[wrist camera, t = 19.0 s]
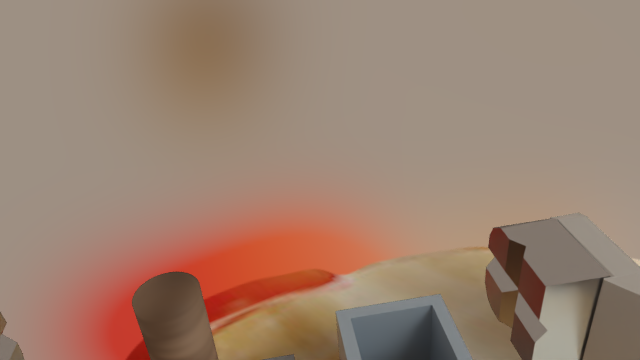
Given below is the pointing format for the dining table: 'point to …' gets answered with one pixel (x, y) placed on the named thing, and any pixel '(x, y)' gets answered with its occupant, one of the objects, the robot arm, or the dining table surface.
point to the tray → (282, 358)
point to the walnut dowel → (174, 318)
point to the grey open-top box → (400, 331)
